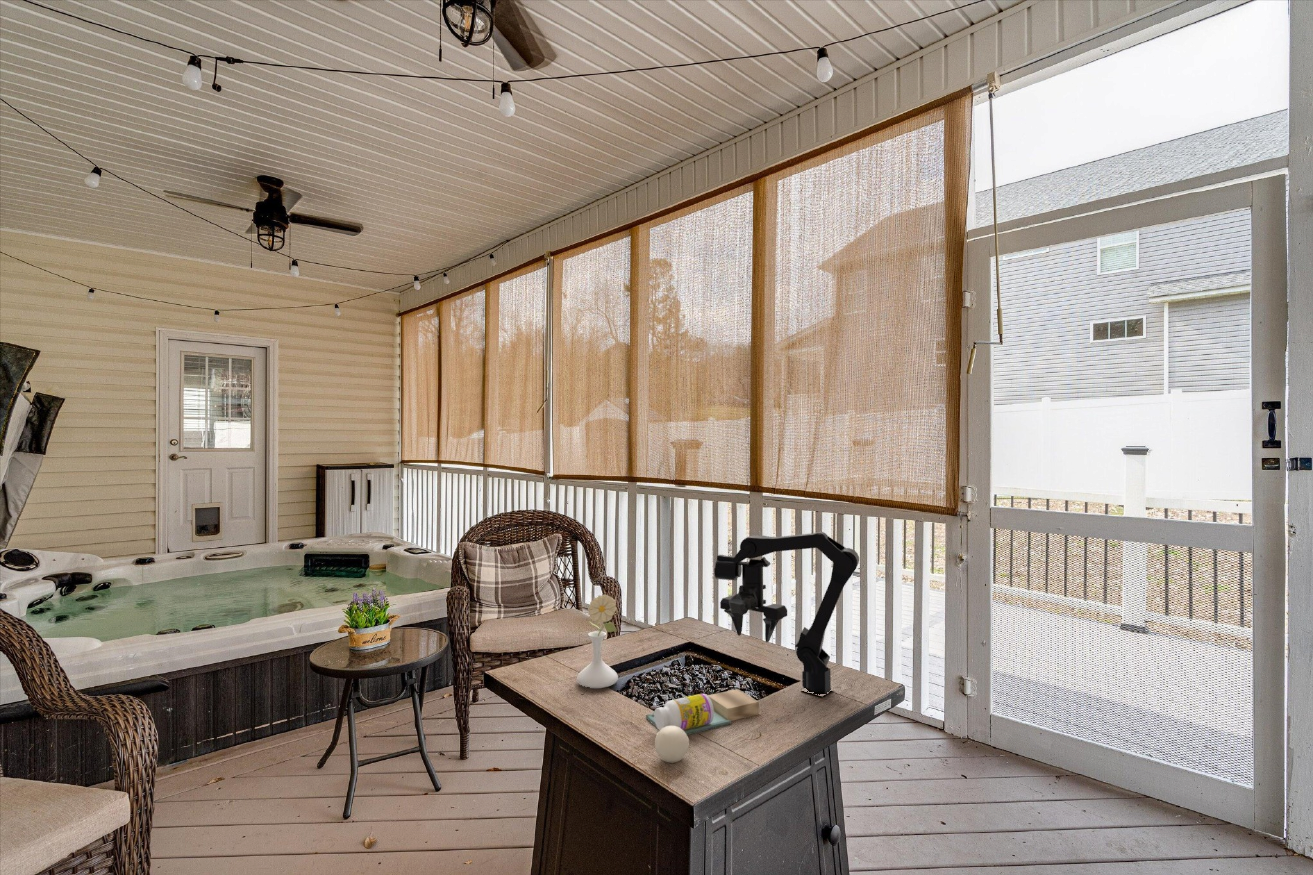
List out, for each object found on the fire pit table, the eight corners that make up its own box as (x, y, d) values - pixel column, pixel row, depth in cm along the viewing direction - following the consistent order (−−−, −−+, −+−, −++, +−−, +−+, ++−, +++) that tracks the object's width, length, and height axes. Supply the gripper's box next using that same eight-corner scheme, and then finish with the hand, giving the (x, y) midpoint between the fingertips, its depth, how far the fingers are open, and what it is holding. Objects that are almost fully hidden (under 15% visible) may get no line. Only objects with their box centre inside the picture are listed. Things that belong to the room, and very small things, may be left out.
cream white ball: (696, 759, 127) (696, 726, 127) (672, 772, 122) (671, 738, 122) (673, 748, 132) (672, 716, 132) (648, 760, 127) (648, 727, 127)
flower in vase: (567, 685, 168) (567, 593, 168) (597, 673, 176) (597, 586, 177) (601, 697, 159) (600, 600, 160) (631, 684, 168) (630, 592, 169)
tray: (703, 705, 154) (703, 702, 154) (730, 724, 143) (730, 720, 143) (646, 718, 147) (646, 714, 147) (669, 738, 136) (669, 735, 136)
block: (737, 700, 157) (737, 688, 157) (758, 714, 149) (758, 701, 149) (707, 707, 153) (707, 695, 153) (727, 721, 144) (727, 708, 145)
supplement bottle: (714, 728, 140) (664, 741, 135) (700, 715, 146) (651, 726, 141) (715, 700, 140) (665, 711, 134) (701, 687, 146) (652, 698, 140)
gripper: (707, 581, 170) (708, 638, 170) (765, 591, 158) (765, 653, 157) (731, 575, 178) (732, 629, 178) (788, 584, 166) (788, 643, 165)
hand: (753, 638), depth 169 cm, fingers open, 9 cm apart
